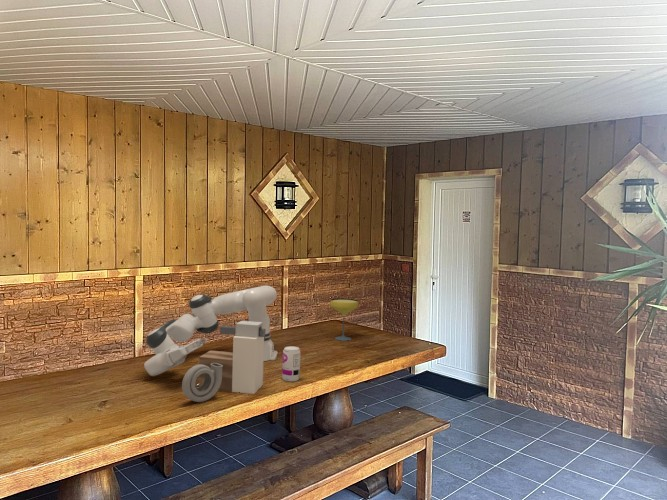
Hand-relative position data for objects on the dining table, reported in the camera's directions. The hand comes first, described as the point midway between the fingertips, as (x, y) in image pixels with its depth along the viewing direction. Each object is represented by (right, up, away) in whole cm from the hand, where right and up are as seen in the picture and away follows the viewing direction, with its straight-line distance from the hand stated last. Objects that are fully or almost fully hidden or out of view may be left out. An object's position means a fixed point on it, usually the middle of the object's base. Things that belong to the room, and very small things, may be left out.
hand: (201, 342), depth 227 cm
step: (+9, -20, -1) cm, 21 cm away
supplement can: (+39, -20, +12) cm, 46 cm away
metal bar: (+19, +4, -4) cm, 20 cm away
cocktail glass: (+66, -16, +99) cm, 120 cm away
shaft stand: (+21, -20, -3) cm, 29 cm away
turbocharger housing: (+5, -21, -19) cm, 29 cm away
